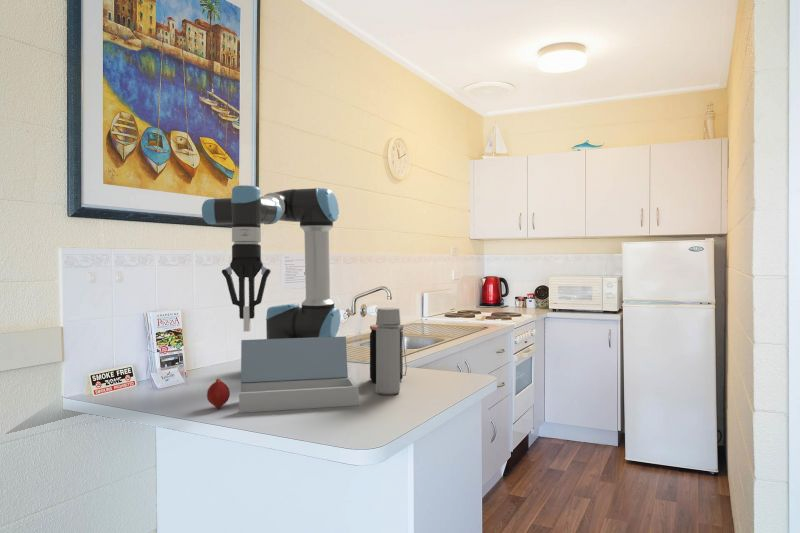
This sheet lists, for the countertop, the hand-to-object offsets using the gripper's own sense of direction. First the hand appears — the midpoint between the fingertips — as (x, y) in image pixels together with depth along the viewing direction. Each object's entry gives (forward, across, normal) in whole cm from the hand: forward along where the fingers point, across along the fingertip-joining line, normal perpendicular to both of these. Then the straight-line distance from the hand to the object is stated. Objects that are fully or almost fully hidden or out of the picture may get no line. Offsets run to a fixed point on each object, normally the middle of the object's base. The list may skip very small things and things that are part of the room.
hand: (247, 330), depth 151 cm
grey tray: (+20, +13, 0) cm, 24 cm away
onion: (+21, -7, -2) cm, 22 cm away
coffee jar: (+21, +41, +25) cm, 52 cm away
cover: (+15, +13, +6) cm, 21 cm away
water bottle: (+21, +40, +9) cm, 46 cm away
